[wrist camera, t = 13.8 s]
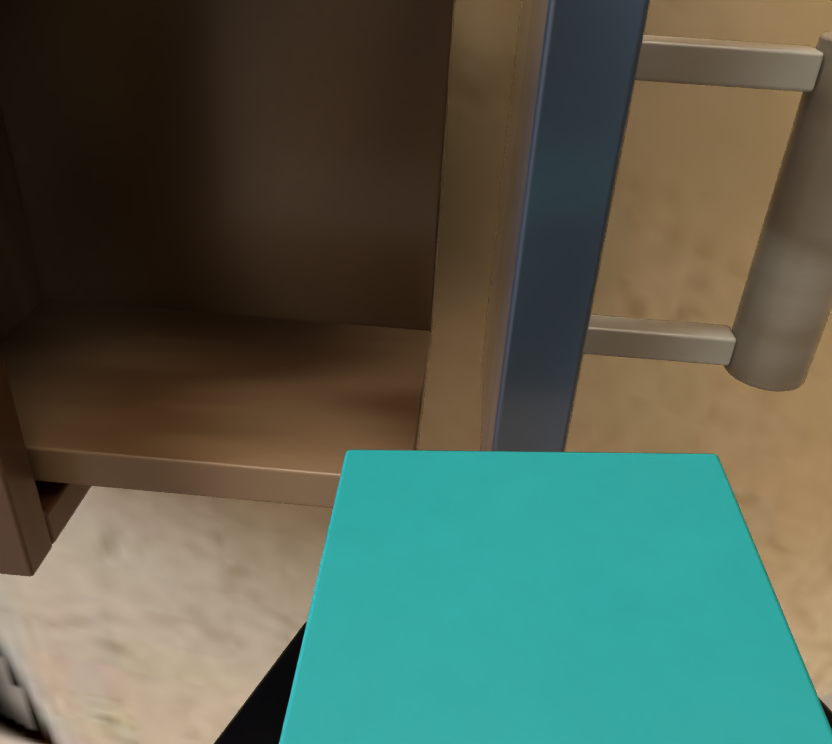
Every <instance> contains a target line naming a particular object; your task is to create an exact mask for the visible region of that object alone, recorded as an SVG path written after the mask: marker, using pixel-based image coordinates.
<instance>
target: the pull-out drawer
mask: <svg viewBox="0 0 832 744" xmlns="http://www.w3.org/2000/svg"><path fill="white" fill-rule="evenodd" d="M649 4H650V0H522V3H521V12H520V21H519V30H518V39H517V48H516V57H515V66H514V75H513V84H512V93H511V102H510V111H509V120H508V129H507V138H506V147H505V156H504V166H503V175H502V184H501V193H500V202H499V211H498V220H497V229H496V238H495V247H494V256H493V265H492V274H491V283H490V292H489V301H488V310H487V319H486V328H485V337H484V346H483V355H482V371H481V436H480V451H512V452H565V449H566V443H567V438H568V433H569V427H570V422H571V417H572V412H573V406H574V401H575V396H576V390H577V385H578V380H579V375H580V369H581V364H582V359H583V354H594V355H606V356H618V357H630V358H642V359H655V360H667V361H679V362H691V363H703V364H715V365H724V367H725V369H726V370H727V371H728V373H729V374H731V375H732V376H733V377H734V378H736V379H737V380H739V381H741V382H743V383H745V384H747V385H750V386H753V387H756V388H759V389H764V390H769V391H790V390H794V389H797V388H798V387H800V386H801V385H802V384H803V383H804V381H805V379H806V376H807V373H808V371H809V368H810V365H811V363H812V360H813V357H814V354H815V352H816V349H817V346H818V344H819V341H820V338H821V335H822V333H823V330H824V327H825V325H826V322H827V319H828V316H829V314H830V311H831V308H832V31H827V32H824V33H822V34H821V35H820V37H819V40H818V43H817V46H816V49H815V48H813V47H811V46H805V45H790V44H775V43H760V42H745V41H730V40H715V39H700V38H685V37H670V36H655V35H644V31H645V25H646V20H647V15H648V10H649ZM454 8H455V0H0V351H1V354H2V358H3V362H4V366H5V370H6V373H7V377H8V381H9V385H10V388H11V392H12V396H13V400H14V404H15V407H16V411H17V415H18V419H19V422H20V426H21V430H22V434H23V438H24V441H25V445H26V449H27V453H28V457H29V460H30V464H31V468H32V472H33V475H34V479H35V480H36V481H47V482H58V483H69V484H79V485H90V486H101V487H112V488H123V489H134V490H145V491H156V492H167V493H178V494H189V495H200V496H211V497H222V498H233V499H244V500H255V501H266V502H276V503H287V504H298V505H309V506H320V507H331V508H333V506H334V502H335V498H336V493H337V489H338V485H339V480H340V476H341V471H342V467H343V463H344V458H345V454H346V452H347V451H348V450H418V444H419V436H420V427H421V419H422V411H423V403H424V395H425V387H426V379H427V371H428V363H429V355H430V347H431V338H432V323H433V309H434V295H435V280H436V266H437V252H438V237H439V223H440V209H441V194H442V180H443V166H444V151H445V137H446V123H447V108H448V94H449V80H450V65H451V51H452V37H453V22H454ZM635 80H639V81H653V82H668V83H682V84H697V85H711V86H726V87H740V88H755V89H769V90H784V91H798V92H803V93H802V96H801V100H800V103H799V106H798V110H797V113H796V117H795V120H794V123H793V127H792V130H791V133H790V137H789V140H788V143H787V147H786V150H785V153H784V157H783V160H782V163H781V167H780V170H779V173H778V177H777V180H776V183H775V187H774V190H773V193H772V197H771V200H770V203H769V207H768V210H767V213H766V217H765V220H764V224H763V227H762V230H761V234H760V237H759V240H758V244H757V247H756V250H755V254H754V257H753V260H752V264H751V267H750V270H749V274H748V277H747V280H746V284H745V287H744V290H743V294H742V297H741V300H740V304H739V307H738V310H737V314H736V317H735V320H734V324H733V327H732V331H731V329H730V327H729V326H726V325H714V324H702V323H689V322H677V321H665V320H652V319H640V318H628V317H615V316H603V315H591V311H592V306H593V300H594V295H595V290H596V285H597V279H598V274H599V269H600V263H601V258H602V253H603V248H604V242H605V237H606V232H607V226H608V221H609V216H610V211H611V205H612V200H613V195H614V189H615V184H616V179H617V174H618V168H619V163H620V158H621V152H622V147H623V142H624V137H625V131H626V126H627V121H628V115H629V110H630V105H631V100H632V94H633V89H634V84H635Z"/></svg>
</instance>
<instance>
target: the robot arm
mask: <svg viewBox="0 0 832 744" xmlns="http://www.w3.org/2000/svg"><path fill="white" fill-rule="evenodd" d="M306 624H307V622H306V623H305V624H304V625H303V626H302V628H301V629H300V630H299V632H298V633H297V634H296V636H295V637H294V638H293V640H292V641H291V642H290V643H289V645H288V646H287V647H286V649H285V650H284V651H283V653H282V654H281V655H280V657H279V658H278V659H277V661H276V662H275V663H274V665H273V666H272V667H271V669H270V670H269V671H268V673H267V674H266V675H265V677H264V678H263V679H262V681H261V682H260V683H259V685H258V686H257V687H256V689H255V690H254V691H253V693H252V694H251V695H250V697H249V698H248V699H247V700H246V702H245V703H244V704H243V706H242V707H241V708H240V710H239V711H238V712H237V714H236V715H235V716H234V718H233V719H232V720H231V722H230V723H229V724H228V726H227V727H226V728H225V730H224V731H223V732H222V734H221V735H220V736H219V738H218V739H217V740H216V742H215V743H214V744H279V741H280V737H281V733H282V728H283V724H284V720H285V715H286V711H287V707H288V702H289V698H290V694H291V689H292V685H293V681H294V676H295V672H296V667H297V663H298V659H299V654H300V650H301V646H302V641H303V637H304V633H305V628H306ZM818 698H819V697H818ZM819 700H820V698H819ZM820 703H821V705H822V708H823V710H824V712H825V715H826V717H827V720H828V722H829V724H830V727H831V729H832V711H831V710H830V709H829V708H828V707H827V706H826V705H825V704H824V703H823V702H822V701H821V700H820Z"/></svg>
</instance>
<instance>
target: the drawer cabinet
mask: <svg viewBox="0 0 832 744" xmlns="http://www.w3.org/2000/svg"><path fill="white" fill-rule="evenodd" d="M90 487H91V486H90V485H79V484H69V483H58V482H47V481H36V480H35V479H34V475H33V472H32V468H31V464H30V460H29V457H28V453H27V449H26V445H25V441H24V438H23V434H22V430H21V426H20V422H19V419H18V415H17V411H16V407H15V404H14V400H13V396H12V392H11V388H10V385H9V381H8V377H7V373H6V370H5V366H4V362H3V358H2V354H1V351H0V574H11V575H21V576H33V575H34V574H35V572H36V571H37V569H38V568H39V566H40V565H41V563H42V562H43V560H44V559H45V557H46V556H47V554H48V552H49V551H50V549H51V547H52V544H53V543H54V542H55V541H56V539H57V538H58V536H59V535H60V533H61V532H62V530H63V529H64V527H65V526H66V524H67V523H68V521H69V520H70V518H71V516H72V515H73V513H74V512H75V510H76V509H77V507H78V506H79V504H80V503H81V501H82V500H83V498H84V497H85V495H86V493H87V492H88V490H89V489H90Z"/></svg>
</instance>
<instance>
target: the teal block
mask: <svg viewBox="0 0 832 744" xmlns="http://www.w3.org/2000/svg"><path fill="white" fill-rule="evenodd" d="M279 744H832V729H831V727H830V724H829V722H828V720H827V717H826V715H825V712H824V710H823V708H822V705H821V703H820V700H819V698H818V696H817V693H816V691H815V688H814V686H813V684H812V681H811V679H810V676H809V674H808V672H807V669H806V667H805V664H804V662H803V659H802V657H801V655H800V652H799V650H798V647H797V645H796V643H795V640H794V638H793V635H792V633H791V631H790V628H789V626H788V623H787V621H786V619H785V616H784V614H783V611H782V609H781V606H780V604H779V602H778V599H777V597H776V594H775V592H774V590H773V587H772V585H771V582H770V580H769V578H768V575H767V573H766V570H765V568H764V566H763V563H762V561H761V558H760V556H759V554H758V551H757V549H756V546H755V544H754V541H753V539H752V537H751V534H750V532H749V529H748V527H747V525H746V522H745V520H744V517H743V515H742V513H741V510H740V508H739V505H738V503H737V501H736V498H735V496H734V493H733V491H732V488H731V486H730V484H729V481H728V479H727V476H726V474H725V472H724V469H723V467H722V464H721V462H720V460H719V457H718V456H717V455H716V454H685V453H599V452H512V451H426V450H348V451H347V452H346V454H345V458H344V463H343V467H342V471H341V476H340V480H339V485H338V489H337V493H336V498H335V502H334V506H333V511H332V515H331V519H330V524H329V528H328V532H327V537H326V541H325V546H324V550H323V554H322V559H321V563H320V567H319V572H318V576H317V580H316V585H315V589H314V593H313V598H312V602H311V606H310V611H309V615H308V620H307V624H306V628H305V633H304V637H303V641H302V646H301V650H300V654H299V659H298V663H297V667H296V672H295V676H294V681H293V685H292V689H291V694H290V698H289V702H288V707H287V711H286V715H285V720H284V724H283V728H282V733H281V737H280V741H279Z"/></svg>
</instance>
